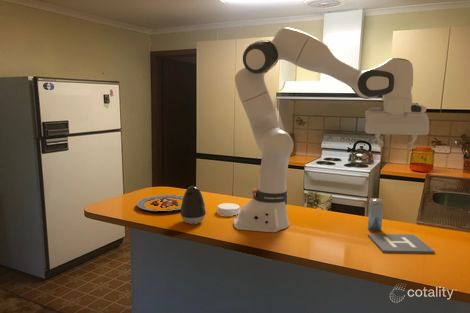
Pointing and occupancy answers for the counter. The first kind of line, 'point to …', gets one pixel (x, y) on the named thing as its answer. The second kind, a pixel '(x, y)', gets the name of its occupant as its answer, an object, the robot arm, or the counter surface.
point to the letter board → (400, 243)
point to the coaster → (228, 209)
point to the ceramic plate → (163, 199)
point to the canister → (375, 214)
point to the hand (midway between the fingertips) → (395, 147)
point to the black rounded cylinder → (193, 206)
